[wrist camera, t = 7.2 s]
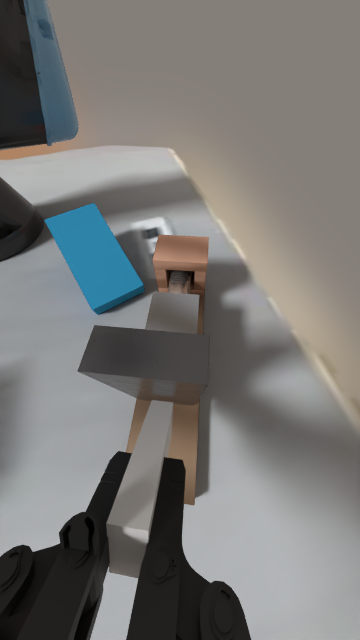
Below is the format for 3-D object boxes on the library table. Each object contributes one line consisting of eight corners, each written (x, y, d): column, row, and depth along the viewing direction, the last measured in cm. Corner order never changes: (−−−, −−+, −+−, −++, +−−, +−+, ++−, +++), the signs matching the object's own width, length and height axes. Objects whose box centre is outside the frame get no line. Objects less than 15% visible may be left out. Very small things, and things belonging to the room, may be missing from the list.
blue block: (146, 303, 30) (97, 221, 33) (143, 284, 23) (82, 184, 26) (107, 324, 28) (59, 235, 31) (92, 309, 22) (33, 199, 25)
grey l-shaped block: (194, 405, 17) (207, 384, 7) (140, 399, 17) (77, 371, 7) (201, 277, 24) (213, 175, 14) (164, 275, 24) (150, 173, 14)
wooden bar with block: (193, 499, 15) (199, 552, 9) (122, 488, 15) (82, 533, 9) (204, 276, 26) (210, 234, 20) (163, 273, 27) (157, 231, 21)
